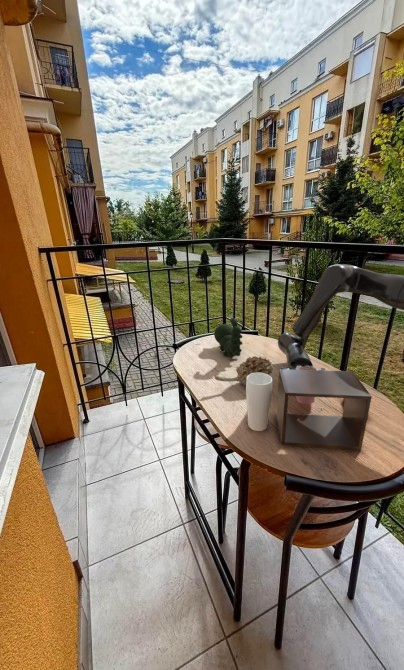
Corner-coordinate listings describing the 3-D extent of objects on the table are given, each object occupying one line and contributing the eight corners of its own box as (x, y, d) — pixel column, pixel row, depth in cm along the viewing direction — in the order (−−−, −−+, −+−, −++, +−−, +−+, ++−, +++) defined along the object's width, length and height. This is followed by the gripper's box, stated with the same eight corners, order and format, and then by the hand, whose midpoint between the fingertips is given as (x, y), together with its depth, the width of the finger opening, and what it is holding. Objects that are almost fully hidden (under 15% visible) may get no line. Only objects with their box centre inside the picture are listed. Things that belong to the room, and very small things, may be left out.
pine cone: (262, 373, 106) (262, 349, 103) (277, 384, 98) (279, 359, 95) (209, 386, 99) (208, 361, 95) (221, 400, 90) (221, 373, 87)
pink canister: (312, 395, 88) (315, 366, 85) (316, 405, 83) (320, 375, 80) (294, 394, 89) (297, 366, 86) (297, 404, 84) (300, 374, 81)
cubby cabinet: (344, 419, 79) (352, 371, 74) (361, 450, 68) (371, 396, 63) (276, 415, 82) (279, 369, 76) (281, 445, 71) (285, 392, 65)
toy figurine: (247, 363, 118) (228, 338, 140) (249, 322, 110) (229, 302, 132) (225, 366, 116) (210, 340, 138) (226, 324, 108) (210, 304, 130)
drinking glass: (273, 433, 75) (276, 383, 70) (248, 435, 75) (249, 385, 69) (265, 417, 81) (268, 371, 76) (242, 419, 81) (243, 373, 76)
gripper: (278, 351, 97) (284, 374, 82) (321, 352, 95) (336, 376, 79) (276, 370, 100) (282, 397, 84) (319, 371, 98) (333, 399, 82)
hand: (308, 386), depth 82 cm, fingers closed on pink canister, 5 cm apart
